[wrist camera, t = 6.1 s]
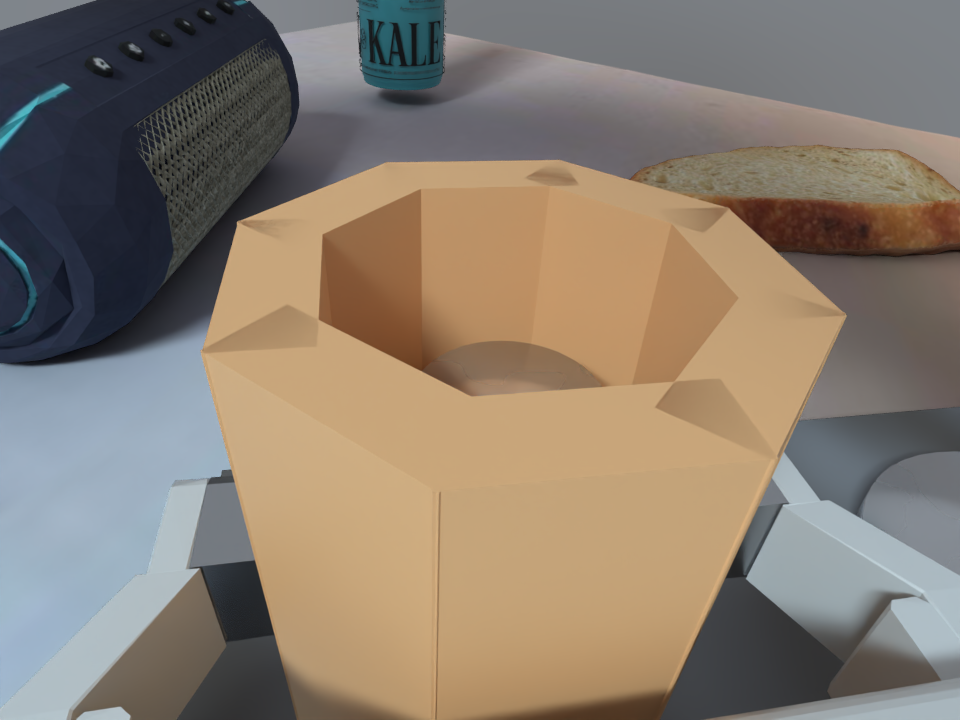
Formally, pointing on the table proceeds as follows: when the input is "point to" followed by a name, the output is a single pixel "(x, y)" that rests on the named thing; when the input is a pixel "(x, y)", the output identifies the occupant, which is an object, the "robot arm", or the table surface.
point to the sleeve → (502, 433)
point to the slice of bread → (823, 197)
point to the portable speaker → (125, 155)
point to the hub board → (739, 605)
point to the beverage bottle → (401, 43)
